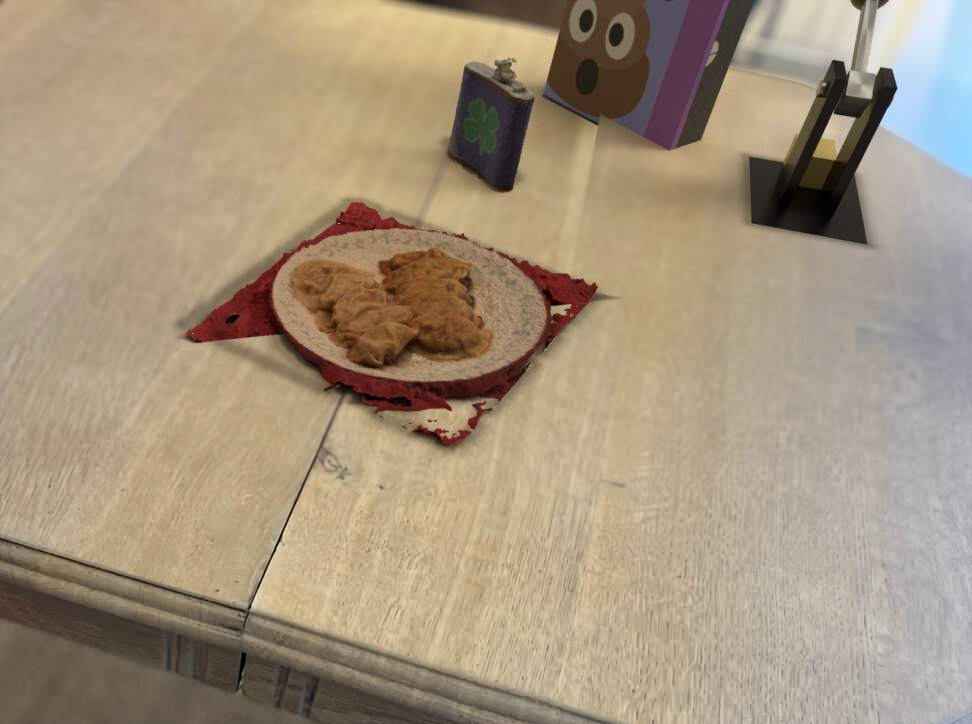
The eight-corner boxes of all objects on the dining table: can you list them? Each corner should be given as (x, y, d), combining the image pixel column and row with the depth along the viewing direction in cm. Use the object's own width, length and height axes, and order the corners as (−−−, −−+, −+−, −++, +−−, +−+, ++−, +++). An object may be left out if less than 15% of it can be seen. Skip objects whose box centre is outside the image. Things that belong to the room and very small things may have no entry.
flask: (441, 153, 106) (463, 42, 98) (464, 148, 107) (488, 38, 99) (498, 195, 101) (526, 81, 93) (522, 189, 102) (552, 76, 94)
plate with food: (594, 305, 89) (606, 268, 86) (453, 458, 74) (463, 419, 71) (352, 216, 98) (357, 181, 95) (184, 336, 83) (184, 297, 80)
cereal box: (542, 96, 116) (609, -161, 99) (572, 87, 118) (643, -167, 101) (666, 161, 107) (764, -110, 89) (696, 150, 109) (799, -118, 91)
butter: (782, 162, 105) (796, 133, 103) (820, 169, 104) (834, 140, 102) (784, 183, 102) (798, 153, 100) (823, 190, 101) (838, 160, 99)
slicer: (744, 167, 106) (800, 35, 97) (849, 186, 105) (916, 52, 95) (746, 234, 97) (808, 95, 88) (861, 256, 95) (936, 116, 86)
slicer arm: (845, -13, 99) (863, -46, 95) (886, -7, 98) (906, -40, 94) (821, 117, 94) (840, 88, 91) (864, 124, 94) (884, 95, 90)
